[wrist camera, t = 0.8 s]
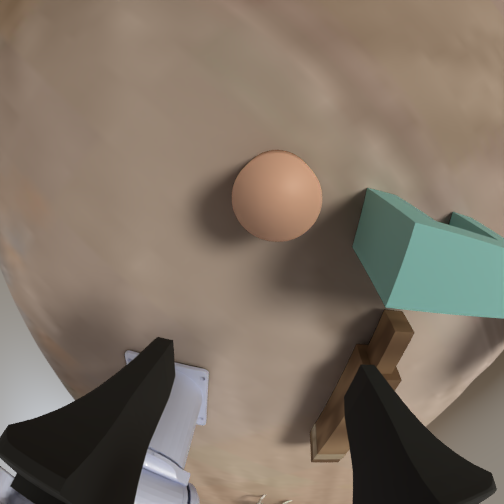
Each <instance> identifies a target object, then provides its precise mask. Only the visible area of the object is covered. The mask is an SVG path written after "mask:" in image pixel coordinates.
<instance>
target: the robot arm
mask: <svg viewBox="0 0 504 504" xmlns="http://www.w3.org/2000/svg"><path fill="white" fill-rule="evenodd" d="M125 359H126V364H127V365H126V366H125V367H124V368H122V369H121V370H120V371H119V372H118V373H116V374H115V375H114V376H112V377H111V378H110V379H108V380H107V381H106V382H104V383H103V384H102V385H100V386H99V387H97V388H96V389H94V390H93V391H91V392H89V393H88V394H86V395H85V396H83V397H81V398H79V399H78V400H76V401H74V402H72V403H70V404H68V405H66V406H64V407H62V408H60V409H58V410H55V411H53V412H50V413H48V414H45V415H42V416H40V417H37V418H34V419H31V420H27V421H23V422H19V423H15V424H11V425H8V426H7V428H6V430H5V431H4V432H3V434H2V435H1V437H0V458H1V459H2V460H3V461H4V462H5V463H7V464H8V465H9V466H10V467H11V468H12V469H13V470H14V471H16V472H17V474H16V476H15V477H13V476H12V475H11V474H10V473H8V472H7V471H6V470H5V469H3V468H2V467H1V466H0V504H200V501H199V496H198V494H197V491H196V488H195V487H194V485H193V484H191V483H188V481H189V477H190V473H189V472H187V471H184V467H185V463H186V460H187V456H188V452H189V449H190V445H191V441H192V437H193V434H194V430H195V426H196V424H198V425H205V424H206V417H207V398H208V381H209V372H208V371H207V370H206V369H202V368H198V367H193V366H188V365H184V364H180V363H175V362H174V348H173V340H169V339H164V338H160V337H157V338H156V339H155V340H154V341H153V342H151V343H150V344H149V345H148V346H147V347H146V348H145V349H144V350H143V351H142V352H141V353H137V352H134V351H130V350H127V351H126V352H125ZM344 413H345V423H346V429H347V435H348V441H349V447H350V453H351V460H352V468H353V504H479V503H480V502H482V501H484V500H485V499H487V498H488V497H489V496H491V495H492V494H493V493H495V491H496V485H495V482H494V479H493V476H492V473H491V472H488V471H486V470H484V469H482V468H480V467H478V466H476V465H474V464H472V463H471V462H469V461H467V460H466V459H464V458H463V457H461V456H459V455H458V454H456V453H455V452H454V451H452V450H451V449H450V448H449V447H447V446H446V445H444V444H443V443H442V442H441V441H440V440H439V439H437V438H436V437H435V436H434V435H433V434H432V433H431V432H430V431H429V430H428V429H427V428H426V427H425V426H424V425H423V424H422V423H421V422H420V421H419V420H418V419H417V418H416V416H415V415H414V414H413V413H412V412H411V411H410V410H409V408H408V407H407V406H406V405H405V404H404V402H403V401H402V400H401V399H400V397H399V396H398V395H397V394H396V392H395V391H394V390H393V388H392V387H391V386H390V384H389V383H388V382H387V380H386V379H385V378H384V376H383V375H382V374H381V373H380V371H379V370H378V369H377V368H376V366H375V365H363V364H361V365H360V367H359V369H358V371H357V373H356V375H355V377H354V379H353V381H352V382H351V384H350V386H349V388H348V390H347V392H346V394H345V396H344Z"/></svg>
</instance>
